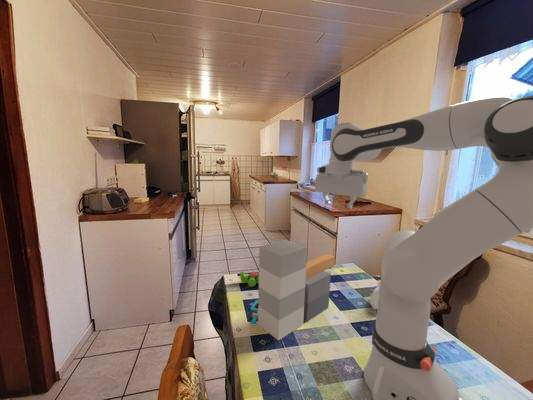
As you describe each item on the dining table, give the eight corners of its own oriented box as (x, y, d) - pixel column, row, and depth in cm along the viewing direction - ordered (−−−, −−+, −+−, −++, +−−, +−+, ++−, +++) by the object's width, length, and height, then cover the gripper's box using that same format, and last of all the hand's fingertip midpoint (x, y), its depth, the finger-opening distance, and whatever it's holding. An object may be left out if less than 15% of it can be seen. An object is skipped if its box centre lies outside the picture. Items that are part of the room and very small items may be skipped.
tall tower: (303, 324, 86) (307, 247, 81) (278, 340, 78) (281, 256, 73) (282, 310, 93) (285, 239, 89) (258, 324, 85) (259, 246, 81)
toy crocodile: (283, 282, 115) (284, 270, 114) (282, 290, 108) (283, 277, 107) (241, 279, 117) (241, 267, 116) (238, 286, 110) (238, 273, 109)
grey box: (328, 307, 96) (330, 273, 93) (306, 321, 87) (308, 284, 85) (307, 296, 103) (309, 265, 101) (286, 308, 95) (287, 274, 92)
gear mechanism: (283, 298, 103) (262, 293, 106) (284, 286, 102) (262, 281, 105) (267, 328, 84) (242, 322, 87) (267, 314, 83) (242, 308, 86)
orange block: (334, 265, 101) (334, 256, 100) (301, 281, 87) (302, 270, 87) (326, 262, 103) (327, 253, 103) (294, 277, 90) (294, 267, 89)
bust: (378, 319, 93) (402, 302, 89) (362, 303, 95) (385, 286, 91) (378, 302, 104) (399, 286, 100) (364, 289, 106) (384, 272, 101)
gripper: (372, 170, 86) (368, 209, 88) (323, 168, 101) (321, 201, 103) (363, 170, 82) (359, 211, 84) (313, 168, 97) (311, 203, 99)
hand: (338, 206), depth 94 cm, fingers open, 8 cm apart
